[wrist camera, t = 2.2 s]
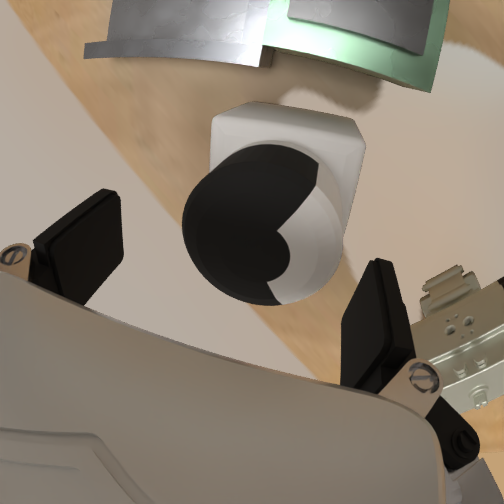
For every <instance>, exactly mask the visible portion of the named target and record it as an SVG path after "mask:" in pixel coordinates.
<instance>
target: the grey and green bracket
mask: <svg viewBox="0 0 504 504" xmlns="http://www.w3.org/2000/svg"><path fill="white" fill-rule="evenodd" d="M449 3H450V0H113V3H112V9H111V15H110V22H109V29H108V36H107V41H102V42H92V43H85V48H84V59H91V58H109V57H168V58H186V59H199V60H210V61H219V62H228V63H235V64H242V65H249V66H255V67H265V68H270V66H271V61H272V55H273V50H276V51H279V52H281V53H286V54H291V55H296V56H301V57H305V58H310V59H314V60H318V61H322V62H326V63H330V64H334V65H338V66H341V67H345V68H348V69H352V70H355V71H358V72H362V73H365V74H368V75H371V76H374V77H377V78H380V79H383V80H386V81H389V82H391V83H394V84H397V85H400V86H402V87H406V88H412V89H416V90H420V91H425V92H428V93H431V88H432V85H433V81H434V77H435V73H436V69H437V65H438V61H439V56H440V52H441V47H442V42H443V37H444V32H445V27H446V22H447V16H448V10H449Z"/></svg>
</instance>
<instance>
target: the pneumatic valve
mask: <svg viewBox="0 0 504 504" xmlns="http://www.w3.org/2000/svg"><path fill="white" fill-rule="evenodd" d="M463 272H464V270H463V268H462V266H461V265H460V266H457V265H456V266H454V267H452V268H450V269H448V270H447V271H445V272H443V273H441V274H439V275H437V276H436V277H433V278H431V279H430V280H428V281H426V284H425V285H423V288H422V290H423V291H425V292H427V291H429V294H428V295H426V296H424V297H422V298H421V299H420V304H421V308H422V311H423V313H424V316H425V319H423V320H421V321H419V322H417V323H414V324H412V325H410V328H411V332H412V337H413V342H414V347H415V352H416V358H420V359H424V360H427V361H429V362H430V363H432V364H433V365H434V366H435V367H436V368H437V369H438V370H439V372H440V373H441V375H442V378H443V390H442V392H441V394H440V395H441V396H442V397H443V398H444V399H445V400H446V401H447V402H448V403H449V404H450V405H451V406H452V407H453V408H454V409H455V410H456V411H457V412H458V413H459V414H461V413H463V412H466V411H468V410H471V409H473V408H475V409H477V410H478V409H480V406H481V405H483V407H485V406H487V404H488V402H489V401H491V400H494V399H496V398H498V397H500V396H502V395H504V277H502V278H500V279H499V280H497V281H496V282H494V283H492V284H490V285H488V286H487V287H485V288H483V289H481V288H480V285H479V283H478V280H477V278H476V276H475V274H474V272H472V271H471V272H469V273H467V274H465V275H464V276H462V273H463Z"/></svg>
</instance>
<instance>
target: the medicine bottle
mask: <svg viewBox="0 0 504 504" xmlns="http://www.w3.org/2000/svg"><path fill="white" fill-rule="evenodd" d="M365 149H366V144H365V141H364V139H363V137H362V135H361V133H360V131H359V129H358V127H357V125H356V123H355V121H354V120H353V119H351V118H347V117H343V116H338V115H333V114H328V113H324V112H318V111H312V110H307V109H302V108H295V107H289V106H283V105H276V104H269V103H261V102H253V101H252V102H248V103H245V104H243V105H240V106H238V107H235V108H233V109H230V110H228V111H225V112H223V113H221V114H218V115H216V116H215V117H214V118H213V120H212V127H211V146H210V167H209V174H208V175H207V176H205V177H204V178H203V179H202V180H201V181H200V182H199V183H198V184H197V186H196V187H195V188H194V189H193V191H192V192H191V194H190V195H189V197H188V200H187V202H186V204H185V208H184V212H183V217H182V233H183V238H184V242H185V245H186V248H187V251H188V253H189V255H190V257H191V259H192V261H193V263H194V264H195V266H196V267H197V269H198V270H199V272H200V273H201V274H202V275H203V276H204V277H205V278H206V279H207V280H208V281H209V282H210V283H211V284H212V285H213V286H215V287H216V288H217V289H219V290H220V291H222V292H224V293H225V294H227V295H229V296H231V297H233V298H235V299H238V300H240V301H243V302H247V303H251V304H256V305H264V306H275V305H284V304H289V303H293V302H296V301H299V300H302V299H305V298H307V297H309V296H311V295H313V294H314V293H316V292H317V291H318V290H320V289H321V288H322V287H323V286H324V285H325V284H326V283H327V282H328V281H329V280H330V279H331V277H332V276H333V275H334V273H335V271H336V269H337V267H338V265H339V262H340V259H341V255H342V250H343V236H344V233H345V229H346V226H347V222H348V219H349V215H350V211H351V207H352V203H353V199H354V196H355V192H356V187H357V183H358V179H359V175H360V171H361V167H362V162H363V158H364V153H365Z"/></svg>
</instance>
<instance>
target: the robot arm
mask: <svg viewBox="0 0 504 504" xmlns="http://www.w3.org/2000/svg"><path fill="white" fill-rule="evenodd" d="M121 221H122V220H121V200H120V197H119V196H118V194H117V192H116V191H112V190H108V189H101V190H99V191H98V192H96V193H95V194H93V195H92V196H90V197H89V198H88V199H86V200H85V201H84V202H82V203H81V204H79V205H78V206H77V207H75V208H74V209H72V210H71V211H70V212H68V213H67V214H66V215H64V216H63V217H62V218H60V219H59V220H58V221H56V222H55V223H54V224H53V225H51V226H50V227H49V228H47V229H46V230H45V231H44V232H43V233H41V234H40V235H39V236H37V237H36V238H35V239H34V240H33V243H34V247H35V248H34V249H33V250H32V251H31V248H30V247H29V245H27V244H23V243H16V244H13V245H10V246H8V247H6V248H4V249H3V250H2V251H1V252H0V504H504V500H503V497H502V494H501V492H500V490H499V488H498V486H497V484H496V482H495V480H494V478H493V476H492V474H491V472H490V470H489V468H488V466H487V464H486V462H485V461H484V459H483V458H481V459H480V460H479V458H478V453H479V450H480V442H479V438H478V435H477V433H476V432H475V430H474V429H473V428H472V427H471V426H470V425H469V424H468V423H467V422H466V421H465V420H464V419H463V418H462V417H461V415H460V414H459V413H458V412H457V411H456V410H455V409H454V408H453V407H452V406H451V405H450V404H449V403H448V402H447V401H446V400H445V399H444V398H443V397H442V396H441V395H440V394H441V392H442V390H443V378H442V375H441V373H440V372H439V370H438V369H437V368H436V367H435V366H434V365H433V364H432V363H430V362H429V361H427V360H424V359H420V358H416V352H415V347H414V342H413V337H412V332H411V328H410V324H409V319H408V315H407V310H406V306H405V304H404V303H403V301H402V297H401V293H400V289H399V285H398V281H397V278H396V274H395V270H394V267H393V263H392V262H391V261H387V260H384V259H380V258H376V259H375V260H374V261H372V260H370V261H369V263H368V265H367V267H366V269H365V271H364V274H363V276H362V278H361V280H360V282H359V284H358V286H357V288H356V290H355V292H354V294H353V296H352V299H351V301H350V303H349V305H348V307H347V309H346V310H345V312H344V315H343V317H342V321H341V378H340V385H337V384H332V383H327V382H323V381H318V380H313V379H310V378H306V377H301V376H297V375H293V374H289V373H285V372H280V371H277V370H273V369H268V368H265V367H261V366H257V365H253V364H250V363H246V362H243V361H239V360H236V359H232V358H229V357H225V356H222V355H219V354H215V353H212V352H209V351H206V350H202V349H199V348H196V347H193V346H189V345H186V344H184V343H181V342H178V341H174V340H172V339H169V338H166V337H163V336H160V335H157V334H154V333H152V332H149V331H146V330H143V329H141V328H138V327H135V326H133V325H130V324H127V323H125V322H122V321H120V320H117V319H114V318H112V317H109V316H107V315H104V314H102V313H100V312H97V311H94V310H92V309H90V308H87V307H85V306H84V305H85V304H86V303H87V301H88V300H89V299H90V298H91V297H92V295H93V294H94V293H95V292H96V291H97V289H98V288H99V287H100V286H101V285H102V283H103V282H104V281H105V280H106V279H107V277H108V276H109V275H110V274H111V273H112V272H113V271H114V270H115V269H116V267H117V266H118V265H119V264H120V263H121V261H122V260H123V256H124V250H123V237H122V222H121Z"/></svg>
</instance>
